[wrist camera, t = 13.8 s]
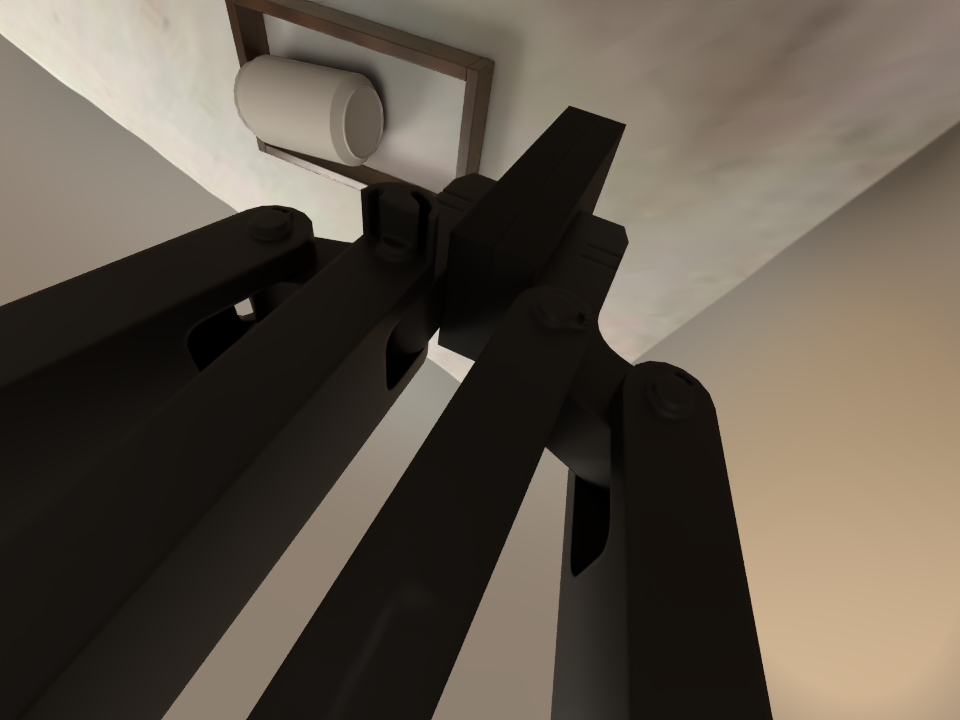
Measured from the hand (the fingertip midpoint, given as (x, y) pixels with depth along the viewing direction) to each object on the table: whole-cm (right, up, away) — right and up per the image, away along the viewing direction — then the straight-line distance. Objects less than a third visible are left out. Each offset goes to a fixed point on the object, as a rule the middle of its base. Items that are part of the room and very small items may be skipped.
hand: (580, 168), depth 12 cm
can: (-13, +16, +28) cm, 34 cm away
